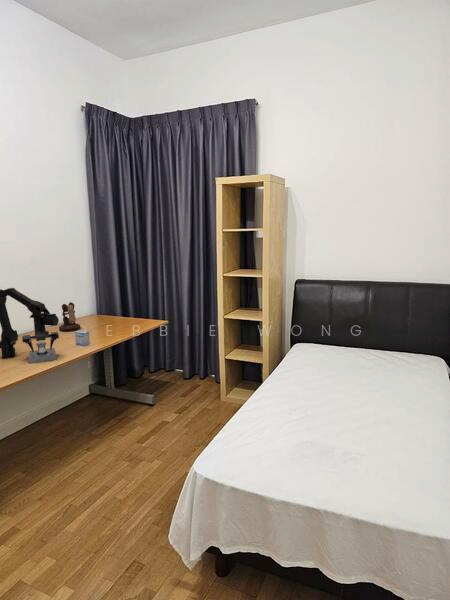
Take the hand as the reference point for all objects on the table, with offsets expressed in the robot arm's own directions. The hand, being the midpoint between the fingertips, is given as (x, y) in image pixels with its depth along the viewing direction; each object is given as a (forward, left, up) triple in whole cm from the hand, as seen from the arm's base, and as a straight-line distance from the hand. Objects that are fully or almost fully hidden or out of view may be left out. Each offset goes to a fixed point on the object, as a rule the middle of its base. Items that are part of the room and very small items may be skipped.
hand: (42, 351), depth 226 cm
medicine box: (+24, +17, -4) cm, 30 cm away
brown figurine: (+20, +62, -4) cm, 65 cm away
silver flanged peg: (0, 0, -4) cm, 4 cm away
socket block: (0, 0, -4) cm, 4 cm away
